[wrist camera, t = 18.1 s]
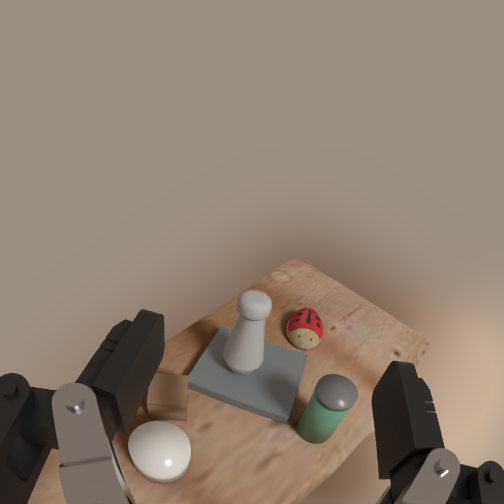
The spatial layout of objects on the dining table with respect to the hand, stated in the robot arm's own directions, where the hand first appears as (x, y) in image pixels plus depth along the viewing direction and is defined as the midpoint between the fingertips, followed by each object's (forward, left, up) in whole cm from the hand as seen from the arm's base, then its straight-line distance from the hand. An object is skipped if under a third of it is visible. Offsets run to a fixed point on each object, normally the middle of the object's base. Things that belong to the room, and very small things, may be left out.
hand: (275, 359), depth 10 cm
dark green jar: (+7, +18, -30) cm, 36 cm away
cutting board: (-4, +24, -30) cm, 39 cm away
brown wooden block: (-12, +14, -30) cm, 35 cm away
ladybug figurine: (+2, +38, -30) cm, 48 cm away
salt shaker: (-6, +24, -29) cm, 38 cm away
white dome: (-9, +6, -30) cm, 32 cm away
